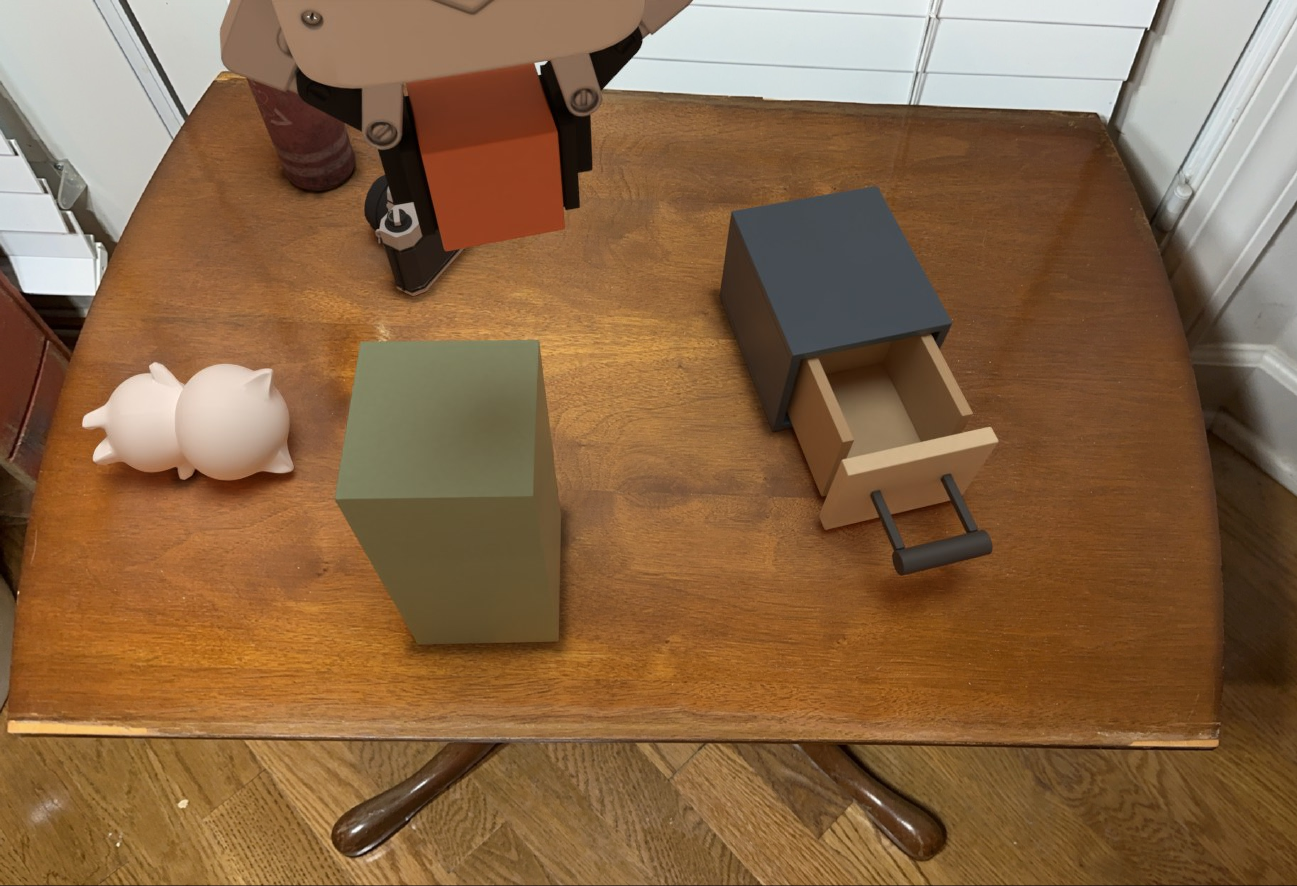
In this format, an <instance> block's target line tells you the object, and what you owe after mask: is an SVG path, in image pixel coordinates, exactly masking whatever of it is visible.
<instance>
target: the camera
mask: <svg viewBox="0 0 1297 886" xmlns="http://www.w3.org/2000/svg"><path fill="white" fill-rule="evenodd" d="M364 200H365V201H364V206H363V207H364V208H363V211H364V212H363V213H364V217H365V220H366V221H367V223H368V224H369V226H370V227H371V229H372V230H373V231H374V234H375V236H376V237H378V245H380V244H381V243H382V246H383V247H384V250H385V253H386V257H387V260H388V263H389V267H390V270H391V273H392V277H393V280H394V284H395V285H394V286H395V287H396V289H397V290H399V291H400V292H403V293H405V294H407V295H409V296H411V297H415V296H418V295H421V294H423V293H427V291H428V290H429V289H430V288H431V287H432V286H433V284H434V283H435V282H437V280H438V279H439V278H440V277H441V276H442V274H443V273H445V271H446V270H447V269H448V268H449V267H450V265H451V264H452V263H453V262H454V261H455V260H456V259H457V257H459V255H460V254H461V253H462V252H463V250H464V249H465V248H462V249H457V250H452V251H445V250H444V247H443V243H442V239H441V235H440V230H436V234H435V235H429V236H424V237H422V233H421V230H420V226H419V222H418V218H417V215H416V211H415V207H414V203H413V202H412V203H406V204H400V205H395V206H394V204H393V200H392V197H391V193H390V190H389V186H388V183H387V180H386V176H385V174H383V175H381V176H379V177H377V178H376V179H375V180H374V181H373V183H372V184H371V186H370V187H369V189H368V191H367V194H366V196H365V199H364Z"/></svg>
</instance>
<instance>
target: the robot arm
mask: <svg viewBox="0 0 1297 886" xmlns="http://www.w3.org/2000/svg"><path fill="white" fill-rule="evenodd" d="M693 1H694V0H229V2H228V5H227V9H226V11H225V14H224V17H223V19H222V22H221V25H220V28H219V45H220V61H221V63H222V66H224V68H225V69H227V71H229V72H230V73H232V74H234V75H237V76H240V77H242V78H245V79H246V78H248V79H251V80H254V81H256V82H259V83H262V84H265V85H267V86H270V87H273V88H276V89H278V90H281V91H284V92H286V90H289V91H292V92H294V93H297V94H299V96H300V98H301V99H302V100H303V101H304V102H306V103H307V104H309V105H311V106H313V107H315V108H316V109H318V110H320V111H322V112H324V113H326V114H328V115H330V116H332V117H334V118H336V119H338V120H340V121H342V122H344V123H345V125H347V126H349V127H351V128H353V129H355V130H358V131H359V132H361V134H362V138H363V140H364V142H365V143H366V144H367V145H368V146H369V147H371V148H373V149H375V150H377V152H378V155H379V160H380V163H381V165H382V169H383V173H384V175H385V176H386V180H387V183H388V186H389V190H390V193H391V197H392V200H393V204H394V206H395V205H400V204H406V203H412V202H413V203H414V207H415V211H416V215H417V218H418V222H419V226H420V230H421V233H422V237H424V236H429V235H435V234H436V230H439V226H438V222H437V218H436V214H435V210H434V205H433V201H432V197H431V193H430V189H429V185H428V181H427V176H426V172H425V168H424V164H423V160H422V156H421V151H420V146H419V142H418V137H417V133H416V128H415V124H414V119H413V114H412V110H411V105H410V101H409V96H408V95H405V92H404V90H405V89H404V86H405V85H404V84H406V83H409V82H416V81H423V80H429V79H436V78H443V77H449V76H456V75H462V74H469V73H475V72H482V71H488V70H494V69H501V68H507V67H513V66H519V65H525V64H532V63H535V64H536V63H544V62H545V63H544V64H541V65H539V71H540V74H538V75H539V78H540V81H541V84H542V87H543V90H544V93H545V96H546V99H547V102H548V105H549V108H550V111H551V114H552V117H553V120H554V123H555V126H556V129H557V132H558V143H559V156H560V169H561V181H562V194H563V207H564V211H570V210H576V209H580V208H581V200H580V197H581V196H580V184H579V180H580V179H579V174H580V173H587V172H592V171H593V143H592V141H593V140H592V121H591V120H592V116H591V115H592V114H594V113H595V112H597V111H598V110H599V109H600V106H601V105H602V103H603V93H602V91H603V90H604V88H606V86H608V84H610V83H611V82H612V81H613V79H614V78H615V77H616V76H617V75H618V74H619V73H620V72H621V71H622V70H623V69H624V67H625V66H626V65H627V64H628V63H629V62H630V61H631V60H632V59H633V58H634V57H635V56H636V55H637V54H638V52H639V51H640V50H641V48H642V46H643V43H644V39H645V38H646V37H648V36H649V35H650V36H654V34H656V33H657V32H658V31H660V30H661V29H662V28H664V26H665V25H667V24H668V23H669V22H671V21H672V20H673V19H674V18H675V17H677V16H678V15H679V14H680V13H682V12H683V11H684V10H685V9H687V7H689V6H690V5H691V4H692V3H693Z"/></svg>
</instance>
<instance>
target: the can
mask: <svg viewBox="0 0 1297 886" xmlns="http://www.w3.org/2000/svg"><path fill="white" fill-rule="evenodd" d="M245 79H246V81H247V84H248V87H249V89H250V91H251V93H252V94H251V95H252V96H253V98H254V101H255V103H256V106H257V109H258V111H259V113H260V115H261V118H262V122H263V123H264V126H265V128H266V130H267V133H268V135H269V138H270V140H271V142H272V145H273V148H274V150H275V152H276V155H277V157H278V160H279V162H280V165H281V167H282V170H283V172H284V174H285V176H286V178H287V180H289V182H291V184H293V185H295V186H297V187H298V188H301V189H303V190H305V191H312V192H319V191H320V192H322V191H328V190H332V189H334V188H335V189H336V188H338V186H340V185H342V184H344V183H345V182H346V181H347V180H348V179H349V178H350V177H351V174H352V173H353V170H354V169H355V166H356V155H355V152H354V149H353V148H354V147H353V146H352V142H351V140H350V136H349V133H348V130H347V126H346V123H344V122H342V121H340V120H338V119H336V118H334V117H332V116H330V115H328V114H326V113H324V112H322V111H320V110H318V109H316V108H315V107H313V106H311V105H309V104H307V103H306V102H304V101H303V100H302V99H301V98H300V96H299V94H297V93H294V92H292V91H289V90H286V92H284V91H281V90H278V89H276V88H273V87H270V86H267V85H265V84H262V83H259V82H256V81H254V80H251V79H248V78H245Z"/></svg>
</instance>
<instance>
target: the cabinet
mask: <svg viewBox="0 0 1297 886" xmlns="http://www.w3.org/2000/svg"><path fill="white" fill-rule="evenodd" d="M730 212H731V213H730V218H729V226H728V232H727V240H726V246H725V254H724V261H723V268H722V275H721V282H720V291H719V299H720V301H721V304H722V306H723V308H724V312H725V313H726V316H727V318H728V322H729V324H730V326H731V329H732V332H733V334H734V337H735V339H736V342H737V344H738V347H739V350H740V351H741V354H742V357H743V359H744V362H745V364H746V367H747V369H748V372H749V375H750V377H751V380H752V382H753V385H754V388H755V390H756V393H757V395H758V398H759V400H760V403H761V406H762V408H763V410H764V413H765V416H766V418H767V421H768V423H769V426H770V428H771V431H772V432H777V431H781V430H786V429H791V428H793V425H792V423H791V421H790V418H789V416H788V413H787V407H788V404H789V400H790V397H791V393H792V390H793V386H794V382H795V379H796V375H797V372H798V368H799V365H800V361H801V359H805V358H810V357H815V356H820V355H825V354H830V353H835V352H840V351H845V350H849V349H854V348H859V347H864V346H869V345H874V344H879V343H884V342H889V341H894V340H899V339H903V338H908V337H913V336H918V335H923V334H928V333H931V335H932V337H933V339H934V340H935V342H936V344H937V346H938V348H939V350H940V351H941V348H942V346H943V344H944V342H945V340H946V338H947V336H948V334H949V332H950V329H951V327H952V325H953V321H952V319H951V317H950V316H949V314H948V312H947V311H946V308H945V306H944V305H943V303H942V301H941V299H940V298H939V296H938V294H937V292H936V290H935V288H934V286H933V285H932V283H931V281H930V279H929V278H928V276H927V274H926V272H925V270H924V268H923V266H922V265H921V263H920V261H919V259H918V257H917V256H916V254H915V252H914V250H913V248H912V246H911V244H910V243H909V241H908V239H907V238H906V235H905V234H904V232H903V230H902V228H901V227H900V225H899V223H898V221H897V219H896V218H895V215H894V214H893V212H892V210H891V208H890V206H889V205H888V203H887V201H886V199H885V197H884V195H883V194H882V192H881V190H880V188H879V186H878V185H872V186H866V187H861V188H855V189H850V190H845V191H839V192H832V193H827V194H820V195H815V196H810V197H809V196H808V197H804V198H799V199H798V198H797V199H793V200H786V201H781V202H777V203H770V204H764V205H758V206H751V207H748V208H747V207H746V208H741V209H735V210H731V211H730Z"/></svg>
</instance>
